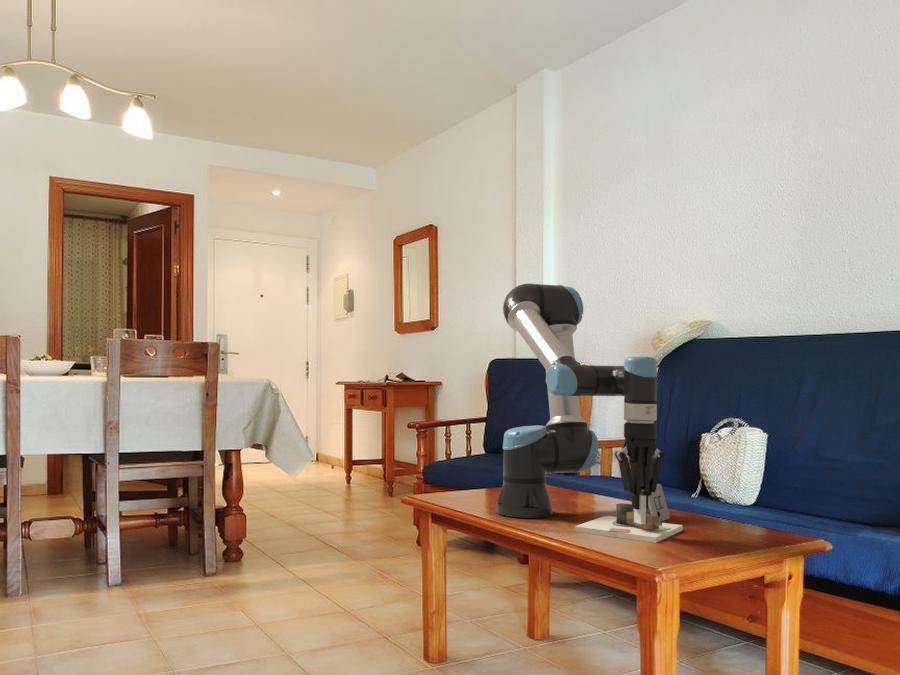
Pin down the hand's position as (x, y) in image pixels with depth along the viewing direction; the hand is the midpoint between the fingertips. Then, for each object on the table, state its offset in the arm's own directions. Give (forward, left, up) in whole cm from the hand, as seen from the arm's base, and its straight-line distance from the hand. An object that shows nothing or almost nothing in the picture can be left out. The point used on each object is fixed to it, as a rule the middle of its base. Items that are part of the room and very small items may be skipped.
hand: (639, 523), depth 173 cm
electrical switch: (-5, +21, -3) cm, 21 cm away
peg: (-1, +3, -1) cm, 3 cm away
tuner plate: (-4, +4, -3) cm, 6 cm away
